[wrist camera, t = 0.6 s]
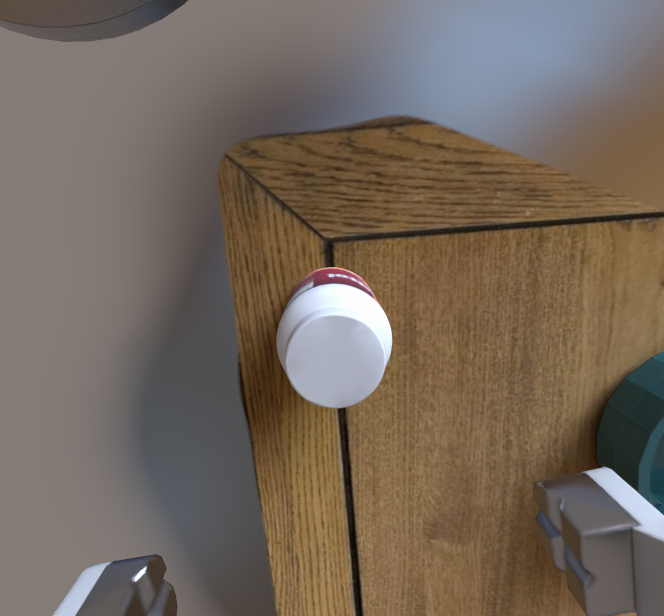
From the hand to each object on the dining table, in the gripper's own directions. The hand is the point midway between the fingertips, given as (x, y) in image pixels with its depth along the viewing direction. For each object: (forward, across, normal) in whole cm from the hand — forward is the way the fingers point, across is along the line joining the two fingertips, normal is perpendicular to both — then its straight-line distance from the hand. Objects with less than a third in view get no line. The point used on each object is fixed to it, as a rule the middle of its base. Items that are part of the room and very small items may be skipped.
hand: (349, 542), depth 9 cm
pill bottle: (+22, 0, 0) cm, 22 cm away
